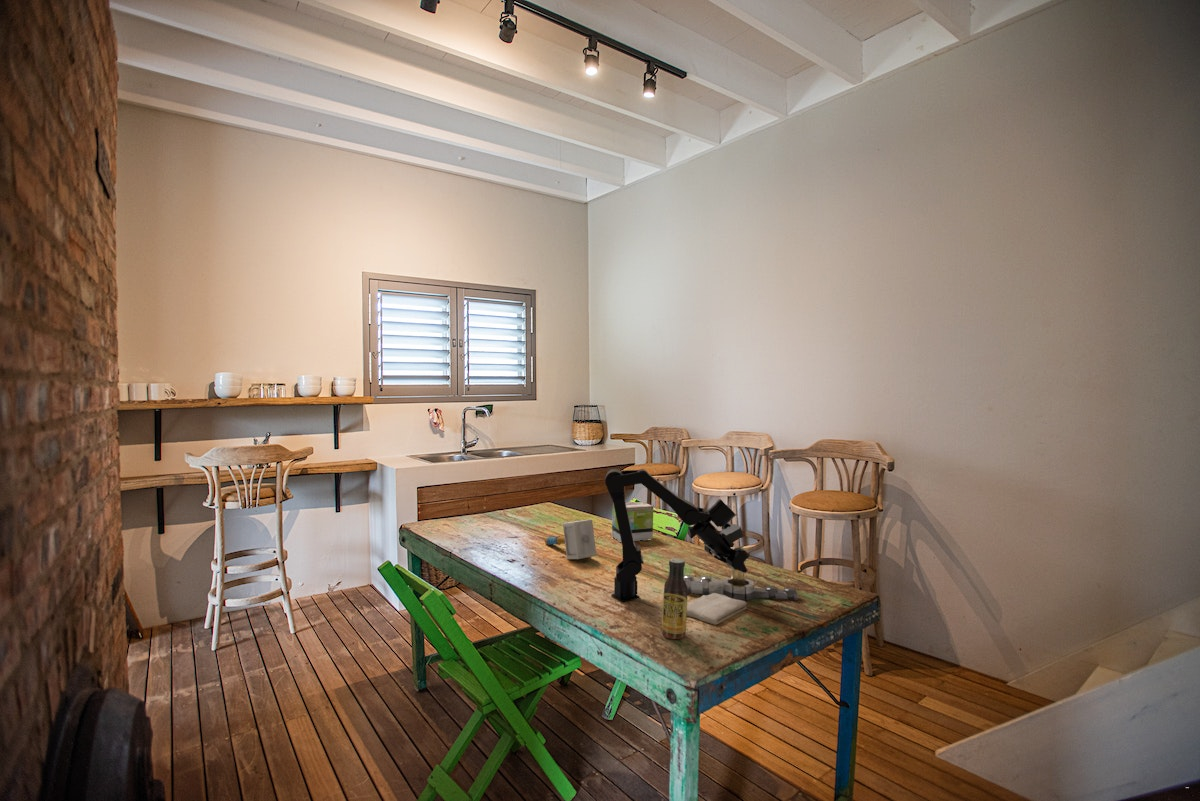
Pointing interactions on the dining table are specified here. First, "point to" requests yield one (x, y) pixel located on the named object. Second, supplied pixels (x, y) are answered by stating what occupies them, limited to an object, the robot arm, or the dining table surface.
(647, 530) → the tea box
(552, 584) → the dining table surface
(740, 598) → the chain joint
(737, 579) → the brass pin
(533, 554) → the dining table surface
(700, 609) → the washcloth
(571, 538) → the hammer
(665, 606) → the sauce bottle
